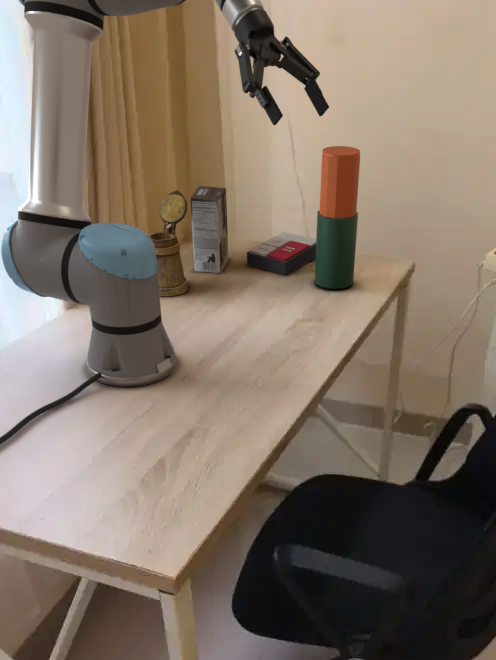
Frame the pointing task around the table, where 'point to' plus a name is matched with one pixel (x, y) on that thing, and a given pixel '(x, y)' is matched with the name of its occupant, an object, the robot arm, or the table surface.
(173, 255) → the wooden mug
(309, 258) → the red and grey box
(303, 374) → the table surface
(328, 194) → the cap
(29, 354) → the table surface
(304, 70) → the robot arm
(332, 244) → the flask
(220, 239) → the coffee box
